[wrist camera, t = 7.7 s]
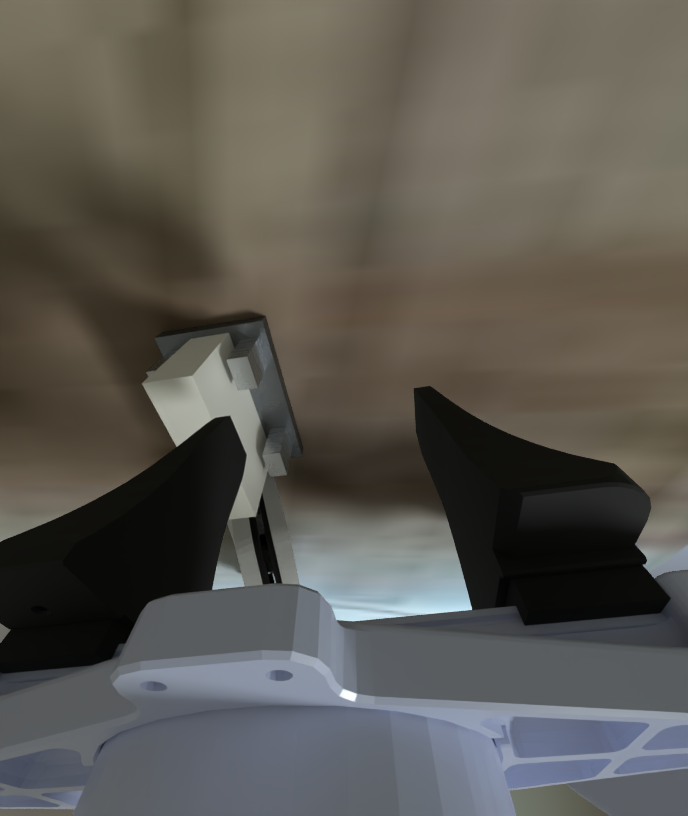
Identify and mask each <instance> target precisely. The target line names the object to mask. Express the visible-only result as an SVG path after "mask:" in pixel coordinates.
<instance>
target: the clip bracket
mask: <svg viewBox="0 0 688 816" xmlns="http://www.w3.org/2000/svg"><path fill="white" fill-rule="evenodd" d="M224 333H229V334H230V337H231V340H232V343H233V346H234V350H233V351H232V352H231V354H230V355H229V357H228V358H227V359H226V361H227V363H228V366H229V369H230V371H231V374H232V377H233V379H234V382H235V385H236V387H237V390H238V391H241V390H248V389H249V391H250V394H251V396H252V399H253V402H254V405H255V408H256V410H257V413H258V416H259V419H260V422H261V424H262V427H263V430H264V433H265V436H266V439H267V441H266V445H265V448H264V451H263V455H262V456H263V459H264V461H265V464H266V467H267V469H268V472H269V475H270V477H274V476H282V475H287V473H288V467H289V462H290V458H294V457H301V456H302V453H303V446H302V443H301V439H300V436H299V432H298V429H297V425H296V422H295V418H294V415H293V411H292V407H291V404H290V400H289V397H288V393H287V390H286V386H285V383H284V379H283V376H282V372H281V369H280V365H279V362H278V358H277V355H276V351H275V348H274V344H273V341H272V337H271V334H270V330H269V327H268V323H267V320H266V316H263V317H256V318H250V319H244V320H238V321H232V322H225V323H219V324H213V325H207V326H201V327H194V328H188V329H182V330H176V331H170V332H163V333H161V334H159V335H158V336H156V337H155V338H154V339H155V341H156V343H157V345H158V347H159V349H160V351H161V353H162V355H163V358H162V359H160V360H159V361H158V362H157V363H156V364H155V365H153V366H152V367H151V368H150V369H149V370H148V371H147V372H146V373H147V375H148V377H149V376H150V375H151V374H153V373H154V372H155V371H156V370H157V369H158V368H159V367H160V366H161V365H162V364H164V363H165V362H166V361H167V360H168V359H169V358H170V357H171V356H172V355H173V354H175V353H176V352H177V351H178V350H179V349H180V348H181V347H182V346H183V345H184V344H185V343H187V342H188V341H189V340H190V339H193V338H199V337H205V336H212V335H218V334H224Z"/></svg>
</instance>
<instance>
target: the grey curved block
mask: <svg viewBox="0 0 688 816" xmlns="http://www.w3.org/2000/svg"><path fill="white" fill-rule="evenodd" d="M227 525H228V528H229V531H230V534H231V537H232V540H233V543H234V546H235V549H236V554H237V558H238V562H239V566H240V570H241V574H242V577H243V581H244V585H245V587H246V586H255V585H264V584H274V579H273V575H272V573H270V574H268V572H269V571H273V572H274V576H275V581H276V583H278V584H299V579H298V574H297V569H296V564H295V559H294V555H293V550H292V545H291V540H290V536H289V532H288V528H287V524H286V520H285V516H284V512H283V509H282V505H281V501H280V497H279V493H278V490H277V486H276V482H275V478H274V477H270V475H269V472H267V476H266V479H265V483H264V487H263V491H262V495H261V498H260V502H259V506H258V510H257V514H256V517H247V518H239V519H230V520H228V522H227ZM263 534H265V537H266V541H267V545H261V542H260V535H263ZM299 585H300V584H299Z"/></svg>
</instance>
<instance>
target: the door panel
mask: <svg viewBox="0 0 688 816" xmlns="http://www.w3.org/2000/svg"><path fill="white" fill-rule="evenodd" d="M233 350H234V346H233V343H232V340H231V337H230V334H229V333H224V334H218V335H212V336H205V337H199V338H193V339H190V340H189V341H188V342H187V343H185V344H184V345H183V346H182V347H181V348H180V349H179V350H178V351H177V352H176V353H175V354H173V355H172V356H171V357H170V358H169V359H168V360H167V361H166V362H165V363H164V364H162V365H161V366H160V367H159V368H158V369H157V370H156V371H155V372H154V373H153V374H151V375H150V376H149V377H148V378H147V379H146V380H145V381H144V382H143V383H142V385H143V387H144V389H145V390H146V392H147V394H148V396H149V398H150V399H151V401H152V403H153V405H154V407H155V408H156V410H157V412H158V414H159V416H160V418H161V419H162V421H163V423H164V425H165V427H166V428H167V430H168V432H169V434H170V436H171V437H172V439H173V441H174V443H175V445H176V447H177V446H179V445H180V444H181V443H182V442H184V441H185V440H186V439H188V438H189V437H190V436H191V435H193V434H194V433H195V432H196V431H198V430H199V429H200V428H201V427H203V426H204V425H205V424H207V423H208V422H209V421H211V420H212V419H214V418H216V417H223V416H231V419H232V421H233V423H234V426H235V428H236V430H237V433H238V435H239V438H240V440H241V442H242V445H243V447H244V450H245V452H246V454H247V457H246V464H245V469H244V474H243V478H242V482H241V485H240V488H239V491H238V494H237V496H236V499H235V502H234V505H233V508H232V511H231V514H230V517H229V519H228V520H230V519H239V518H247V517H256V514H257V510H258V506H259V502H260V498H261V495H262V491H263V487H264V483H265V479H266V476H267V472H268V469H267V467H266V464H265V461H264V459H263V456H262V455H263V451H264V448H265V445H266V441H267V439H266V436H265V433H264V430H263V427H262V424H261V422H260V419H259V416H258V413H257V410H256V408H255V405H254V402H253V399H252V396H251V394H250V391H249V389H248V390H241V391H238V390H237V387H236V385H235V382H234V379H233V377H232V374H231V371H230V369H229V366H228V363H227V361H226V359H227V358H228V357H229V355H230V354H231V352H232V351H233Z"/></svg>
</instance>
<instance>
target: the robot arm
mask: <svg viewBox="0 0 688 816" xmlns="http://www.w3.org/2000/svg"><path fill="white" fill-rule="evenodd" d="M414 401H415V420H416V433H417V437H418V441H419V445H420V448H421V452H422V455H423V457H424V460H425V462H426V465H427V467H428V470H429V472H430V474H431V477H432V479H433V482H434V484H435V486H436V489H437V491H438V494H439V496H440V498H441V501H442V504H443V506H444V509H445V512H446V515H447V519H448V522H449V526H450V529H451V532H452V536H453V539H454V543H455V546H456V550H457V553H458V557H459V561H460V564H461V568H462V572H463V575H464V579H465V583H466V587H467V590H468V594H469V598H470V602H471V606H472V610H468V611H458V612H448V613H437V614H427V615H416V616H406V617H396V618H385V619H375V620H365V621H354V622H352V621H340V620H336V618H335V615H334V612H333V609H332V607H331V605H330V604H329V603H328V602H327V601H326V600H325V599H324V598H323V597H322V596H321V594H319V593H318V592H317V591H315V590H312V589H309V588H307V587H304V586H301V585H299V584H278V583H274V584H264V585H255V586H246V587H236V588H227V589H218V590H212V586H213V581H214V576H215V571H216V566H217V561H218V556H219V552H220V547H221V543H222V539H223V535H224V532H225V528H226V525H227V522H228V519H229V517H230V514H231V511H232V508H233V505H234V502H235V499H236V496H237V494H238V491H239V488H240V485H241V482H242V478H243V474H244V469H245V464H246V457H247V454H246V452H245V450H244V447H243V445H242V442H241V440H240V438H239V435H238V433H237V430H236V428H235V426H234V423H233V421H232V419H231V416H223V417H216V418H214V419H212V420H211V421H209V422H208V423H207V424H205V425H204V426H203V427H201V428H200V429H199V430H198V431H196V432H195V433H194V434H193V435H191V436H190V437H189V438H188V439H186V440H185V441H184V442H182V443H181V444H180V445H179V446H177V447H176V448H175V449H174V450H172V451H171V452H170V453H168V454H167V455H166V456H164V457H163V458H161V459H160V460H159V461H157V462H156V463H155V464H153V465H152V466H151V467H149V468H148V469H146V470H145V471H143V472H142V473H140V474H139V475H137V476H135V477H134V478H132V479H131V480H129V481H128V482H126V483H124V484H123V485H121V486H119V487H117V488H116V489H114V490H112V491H110V492H108V493H106V494H105V495H103V496H101V497H99V498H97V499H96V500H94V501H92V502H90V503H88V504H86V505H84V506H82V507H80V508H78V509H76V510H74V511H72V512H69V513H67V514H65V515H63V516H61V517H59V518H56V519H54V520H52V521H50V522H47V523H45V524H43V525H40V526H38V527H35V528H33V529H30V530H28V531H25V532H23V533H21V534H18V535H16V536H13V537H11V538H8V539H5V540H3V541H1V542H0V623H1V624H2V625H4V626H5V627H7V628H8V629H11V630H10V632H9V633H8V634H7V636H6V637H5V638H4V639H3V641H2V642H1V643H0V808H1V809H11V808H12V809H13V808H14V809H24V808H25V809H75V810H74V813H73V814H72V816H516V812H515V809H514V806H513V802H512V799H511V795H510V792H509V791H510V790H517V789H525V788H533V787H541V786H548V785H557V784H565V783H566V784H567V785H568V786H569V787H570V788H571V789H572V790H574V791H575V792H576V793H577V794H579V795H581V796H582V797H583V798H585V799H586V800H588V801H589V802H591V803H592V804H594V805H595V806H596V807H598V808H599V809H601V810H602V811H604V812H605V813H607V814H608V815H610V816H688V570H680V571H672V572H667V573H664V574H662V575H659V576H657V577H656V578H655V579H654V578H653V577H652V576H651V574H650V573H649V572H648V571H647V570H646V565H645V564H646V562H647V559H646V557H645V555H644V554H643V553H642V552H641V551H640V550H639V548H638V546H637V544H636V541H637V539H638V538H639V536H640V534H641V532H642V530H643V528H644V526H645V524H646V522H647V520H648V517H649V513H650V510H651V502H650V498H649V496H648V495H647V494H646V493H645V491H644V490H643V489H642V488H641V487H640V486H639V485H637V484H636V483H635V482H634V481H633V480H632V479H631V478H630V477H629V476H628V475H627V474H626V473H625V472H623V471H622V470H621V469H620V468H619V467H618V466H617V465H615V464H613V463H609V462H604V461H599V460H595V459H590V458H585V457H581V456H576V455H572V454H568V453H565V452H561V451H557V450H554V449H550V448H547V447H544V446H541V445H538V444H535V443H532V442H529V441H526V440H524V439H521V438H518V437H516V436H513V435H511V434H508V433H506V432H504V431H502V430H500V429H498V428H495V427H493V426H491V425H489V424H487V423H485V422H483V421H482V420H480V419H478V418H476V417H475V416H473V415H471V414H470V413H468V412H466V411H465V410H463V409H462V408H460V407H459V406H457V405H456V404H454V403H453V402H451V401H450V400H449V399H447V398H446V397H444V396H443V395H442V394H440V393H439V392H438V391H436V390H435V389H434V388H432V387H431V386H427V387H420V388H414Z"/></svg>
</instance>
